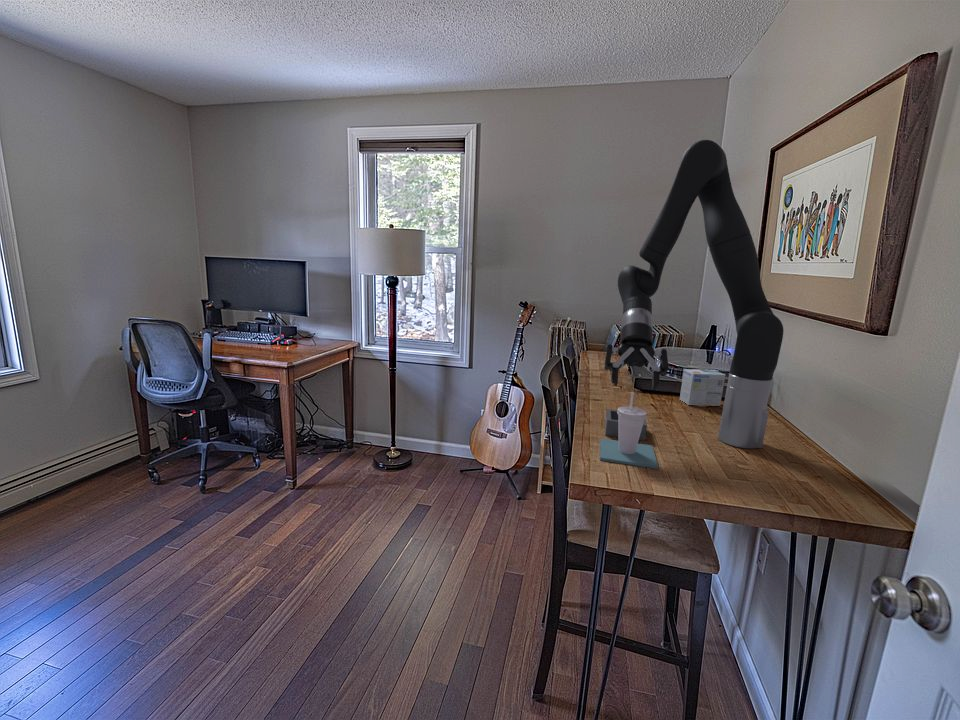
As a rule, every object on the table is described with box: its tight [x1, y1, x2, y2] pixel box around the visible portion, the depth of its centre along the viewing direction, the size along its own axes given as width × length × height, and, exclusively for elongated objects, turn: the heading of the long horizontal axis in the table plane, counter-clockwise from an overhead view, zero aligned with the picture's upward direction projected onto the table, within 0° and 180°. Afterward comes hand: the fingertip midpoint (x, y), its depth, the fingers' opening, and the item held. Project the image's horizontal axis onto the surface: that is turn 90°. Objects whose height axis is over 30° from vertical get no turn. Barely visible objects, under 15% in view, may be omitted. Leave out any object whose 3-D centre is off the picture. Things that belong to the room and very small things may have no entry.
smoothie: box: [617, 391, 648, 454], centre depth 105 cm, size 6×6×14 cm
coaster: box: [599, 437, 659, 470], centre depth 106 cm, size 12×12×1 cm
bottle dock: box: [604, 408, 648, 441], centre depth 120 cm, size 10×10×4 cm
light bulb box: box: [679, 368, 726, 407], centre depth 149 cm, size 11×7×11 cm, turn 94°
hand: (635, 386), depth 108 cm, fingers open, 8 cm apart
